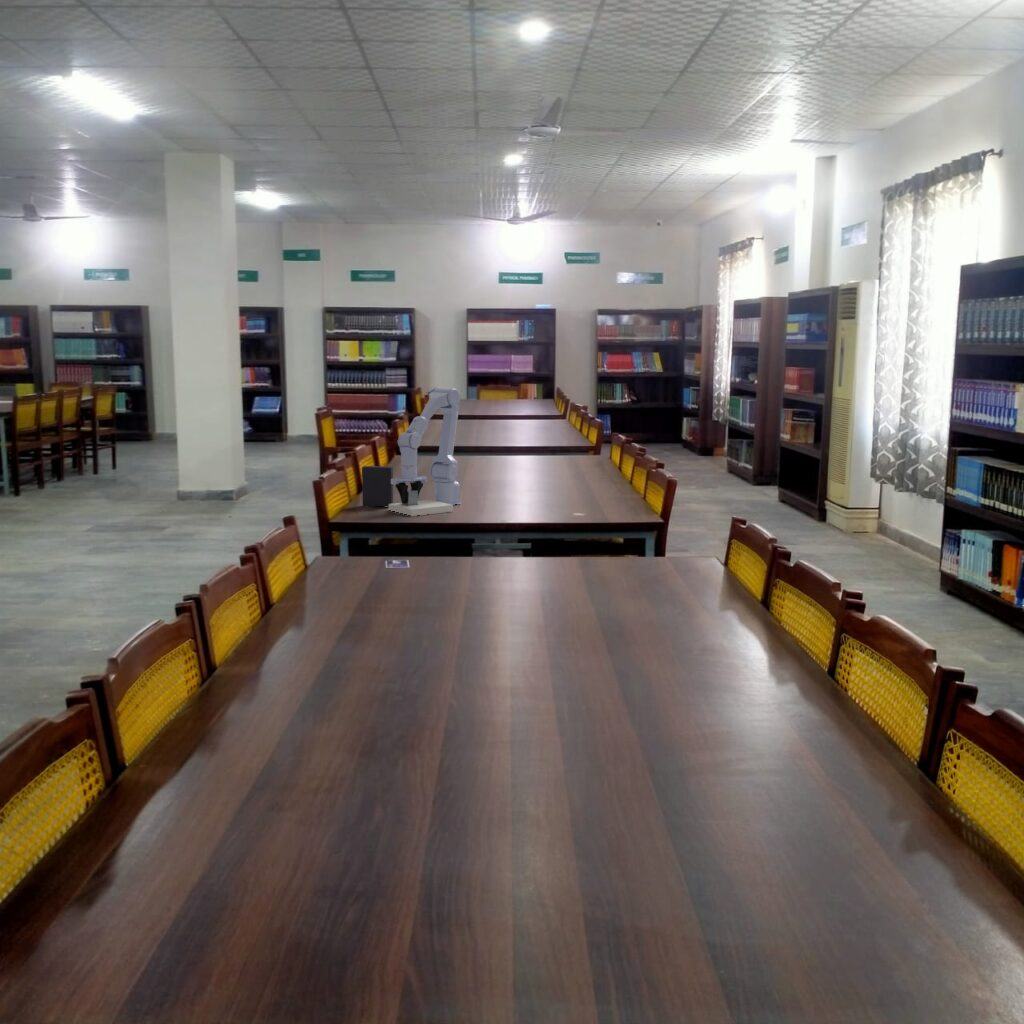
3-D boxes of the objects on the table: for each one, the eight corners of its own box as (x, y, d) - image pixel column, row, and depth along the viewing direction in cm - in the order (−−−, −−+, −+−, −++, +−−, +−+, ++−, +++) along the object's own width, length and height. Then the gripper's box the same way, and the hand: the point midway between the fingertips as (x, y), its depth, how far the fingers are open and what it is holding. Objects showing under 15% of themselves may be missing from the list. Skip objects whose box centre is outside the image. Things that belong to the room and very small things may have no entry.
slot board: (429, 506, 364) (429, 499, 363) (453, 511, 352) (453, 504, 352) (388, 510, 352) (388, 503, 352) (411, 516, 341) (411, 509, 341)
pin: (411, 505, 355) (411, 489, 354) (417, 506, 352) (417, 490, 351) (402, 506, 353) (402, 489, 351) (408, 507, 350) (408, 491, 348)
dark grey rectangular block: (393, 506, 363) (393, 466, 361) (391, 507, 359) (390, 467, 357) (365, 505, 364) (364, 465, 362) (362, 506, 360) (361, 466, 358)
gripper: (398, 468, 342) (398, 505, 345) (432, 465, 352) (432, 502, 354) (387, 466, 348) (387, 503, 350) (421, 463, 357) (421, 499, 359)
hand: (409, 502), depth 352 cm, fingers closed on pin, 4 cm apart
